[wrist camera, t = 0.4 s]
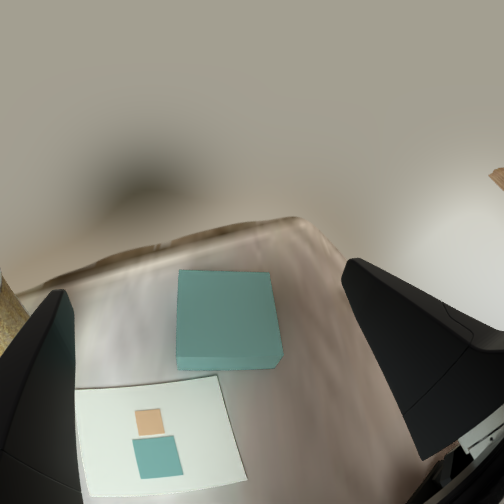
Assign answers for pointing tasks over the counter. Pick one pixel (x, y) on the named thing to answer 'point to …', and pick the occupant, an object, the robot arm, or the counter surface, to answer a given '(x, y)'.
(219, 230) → the counter surface
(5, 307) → the sprinkles bottle
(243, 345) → the brick
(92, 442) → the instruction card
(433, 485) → the end cap
